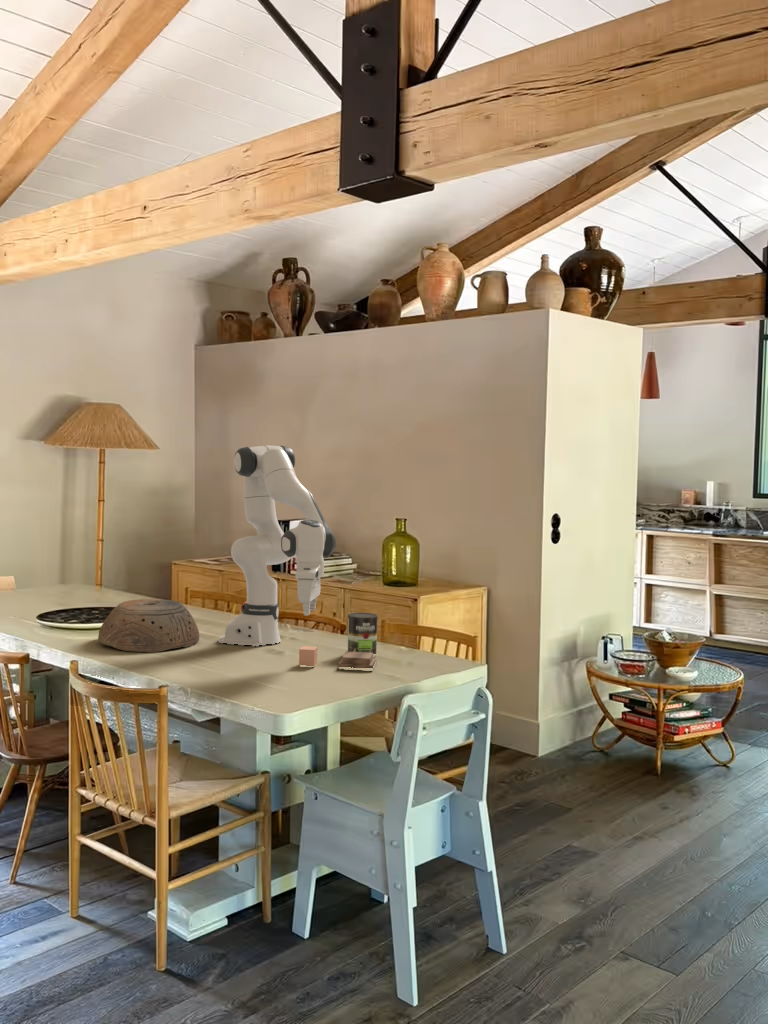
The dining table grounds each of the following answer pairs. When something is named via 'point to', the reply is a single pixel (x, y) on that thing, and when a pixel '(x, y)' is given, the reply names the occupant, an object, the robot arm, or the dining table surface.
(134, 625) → the ceramic artifact
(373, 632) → the coffee can
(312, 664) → the block
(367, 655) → the plinth
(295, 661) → the dining table surface
